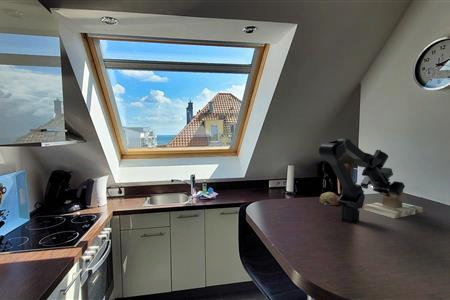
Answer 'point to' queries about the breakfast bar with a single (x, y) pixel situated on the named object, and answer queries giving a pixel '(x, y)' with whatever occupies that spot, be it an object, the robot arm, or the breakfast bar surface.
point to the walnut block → (393, 200)
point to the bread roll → (329, 198)
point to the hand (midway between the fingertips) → (388, 196)
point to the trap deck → (393, 210)
